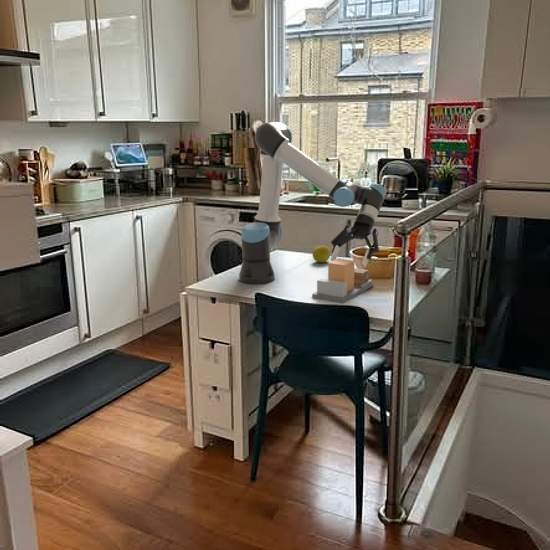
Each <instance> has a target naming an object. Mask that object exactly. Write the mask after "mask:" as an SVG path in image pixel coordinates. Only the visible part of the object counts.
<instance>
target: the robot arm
mask: <svg viewBox="0 0 550 550" xmlns="http://www.w3.org/2000/svg"><path fill="white" fill-rule="evenodd" d="M254 141H255V144H256V146H257V148H258V149H259V155H260V156H261V157H262V158H263V159H262V169H261V180H260V191H259V203H258V213H257V214H256V215H254V217H253V219H254V220H253V222H252V223H246V224H245V225H244V226H243V227H242V228H241V232H240V233H241V234H240V236H241V249H242V250H241V252H242V254H241V255H242V257H241V258H242V263H241V268H240V271H239V273H238V278H239V281H240V282H241V283H244V284H249V285H262V284H268V283H271V282H273V281H274V280H276V279H275V276H276V275H275V271H274V268H273V266H272V263H271V250H270V249H272V248H273V247H275V246H276V245H277V244H279V242H280V241H281V239H282V235H283V229H282V226H281V221H282V220H281V217H280V216H279V209H280V207H279V206H280V197H281V190H282V189H281V188H282V178H283V167H284V164H285V165H286V166H287V167H288V168H290V169H291V170H292V171H294V172H295V173H296V174H298V175H299V176H301V177H302V178H303V179H305V180H306V181H308V182H309V183H310V184H312V185H313V186H315V187H316V188H318V189H319V190H320V191H321V192H323V193H324V194H326V195H327V196H328V197H329V198H330V199H332V200H333V202H334V204H336V206H338V207H339V208H340V207H341V208H346V207H349V206H351V205H352V204H357V205H359V206H360V208H359V211H358V212H357V216H356V217H355V220H354V222H353V226H352V227H350V226H349V225H348V224H347V225H346V224H345V225H344V228H343V229H342V231H340V232H339V233H337V235H336V236H335V237H334V238H333V239H332V240H331V241H330V243H331V245H332V247H333V248H332V250H331V255H330V258H329V259H330V262H331V261H334V260H336V259H338V258H337V257H338V255H339V253H340V250H341V249H340V248H341V247H343V246H344V245H345V244H346V243H348V242H350V241H353V240H354V239H355V240H362V241H363V240H365V243H366V244H367V246H368V248H369V249H368V248H367V249H366V251H365V254H364V256H363V259H362V262H361V265H362V267H363V268H366V267H367V265H368V262H369V260H370V261H371V259H372V257H373V254H374V253H380V248H379V247H380V246H379V241H378V240H379V239H378V235H379V232H378V229H377V228H373V227H374V224H375V222H376V220H377V217H378V215H379V212H380V210H381V208H382V207H383V203H384V201H385V197H386V195H387V190H386V188H385V187H384V186H383V185H381V184H379V183H376V184H375V183H371V184H370V185H369V186H368V187H367V186H363V185H361V184H358V183H355V182H352V181H350V180H347V179H346V180H345V179H339V178H338V177H336V176H335V175H334V174H332V173H331V171H328V170H327V169H325V168H324V167H323V166H321V165H320V164H318V163H317V162H316V161H314V159H312V158H310V157H309V156H308V155H306V154H305V153H303V152H302V151H301V150H300V149H298V148H297V147H295V146H294V145H292V141H293V134H292V131H291V130H290V127H289V126H287V125H286V124H285V123H282V122H279V121H271V122H265V123H262V124H260V125H259V126H258V127H257V129H256V130H255V133H254ZM370 235H371V236H372V240H373V245H372V244H371V241H370V239H369V236H370Z"/></svg>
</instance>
